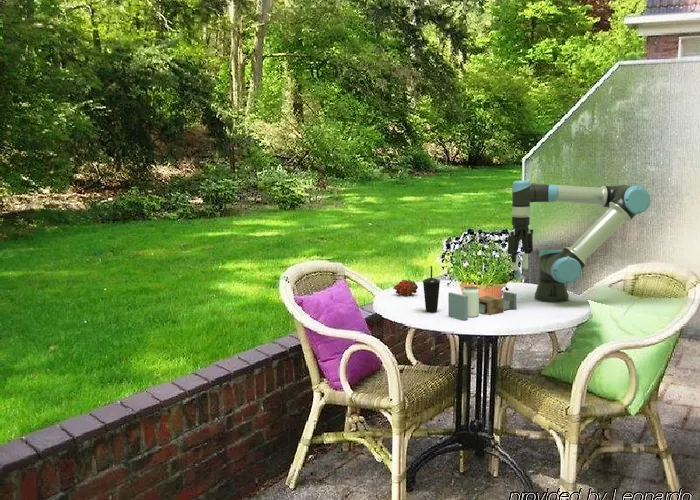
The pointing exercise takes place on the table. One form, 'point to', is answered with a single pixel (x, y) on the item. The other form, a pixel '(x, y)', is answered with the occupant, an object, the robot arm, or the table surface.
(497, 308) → the tan wooden block
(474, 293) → the can
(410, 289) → the red pine cone
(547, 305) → the table surface
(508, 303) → the shaft
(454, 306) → the end plate
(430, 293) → the drinking cup
